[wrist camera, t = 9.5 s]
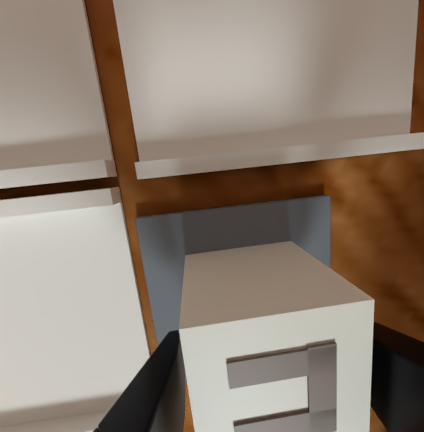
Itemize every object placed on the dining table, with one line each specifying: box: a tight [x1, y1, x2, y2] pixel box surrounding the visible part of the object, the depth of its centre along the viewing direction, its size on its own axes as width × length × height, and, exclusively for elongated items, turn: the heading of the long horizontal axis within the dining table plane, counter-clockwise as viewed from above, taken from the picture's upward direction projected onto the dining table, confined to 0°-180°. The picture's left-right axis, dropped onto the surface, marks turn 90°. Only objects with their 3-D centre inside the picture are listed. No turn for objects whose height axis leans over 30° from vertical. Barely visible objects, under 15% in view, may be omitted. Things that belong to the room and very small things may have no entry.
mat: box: [135, 195, 330, 382], centre depth 10 cm, size 8×8×1 cm
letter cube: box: [179, 241, 375, 432], centre depth 8 cm, size 4×4×5 cm
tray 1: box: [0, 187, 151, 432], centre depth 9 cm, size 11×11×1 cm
